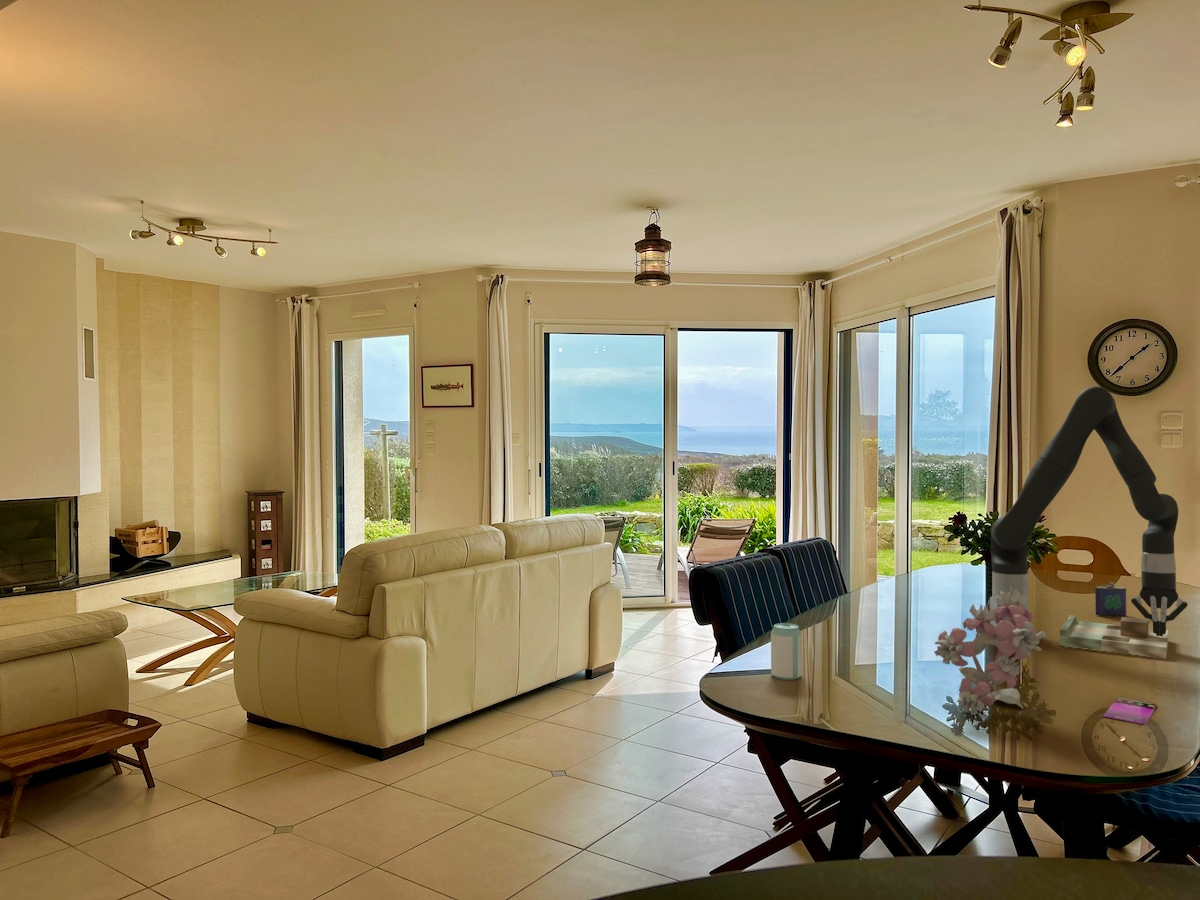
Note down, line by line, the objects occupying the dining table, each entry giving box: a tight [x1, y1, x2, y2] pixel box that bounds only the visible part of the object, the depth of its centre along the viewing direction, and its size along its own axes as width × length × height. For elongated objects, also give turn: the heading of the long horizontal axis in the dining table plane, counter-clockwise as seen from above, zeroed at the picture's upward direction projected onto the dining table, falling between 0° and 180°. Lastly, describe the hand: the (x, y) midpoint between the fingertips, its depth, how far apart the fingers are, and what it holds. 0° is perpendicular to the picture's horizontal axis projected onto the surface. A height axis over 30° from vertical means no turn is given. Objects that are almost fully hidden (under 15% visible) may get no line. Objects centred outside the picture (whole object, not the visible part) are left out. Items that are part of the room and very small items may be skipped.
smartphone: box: [1102, 697, 1158, 726], centre depth 169 cm, size 7×15×1 cm, turn 139°
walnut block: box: [1120, 616, 1149, 639], centre depth 223 cm, size 6×6×4 cm
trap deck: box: [1059, 614, 1169, 660], centre depth 226 cm, size 24×23×4 cm
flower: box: [933, 585, 1048, 716], centre depth 174 cm, size 20×22×25 cm
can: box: [770, 622, 803, 681], centre depth 196 cm, size 7×7×12 cm
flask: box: [1094, 581, 1127, 618], centre depth 262 cm, size 9×3×11 cm, turn 88°
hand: (1159, 635), depth 220 cm, fingers closed
